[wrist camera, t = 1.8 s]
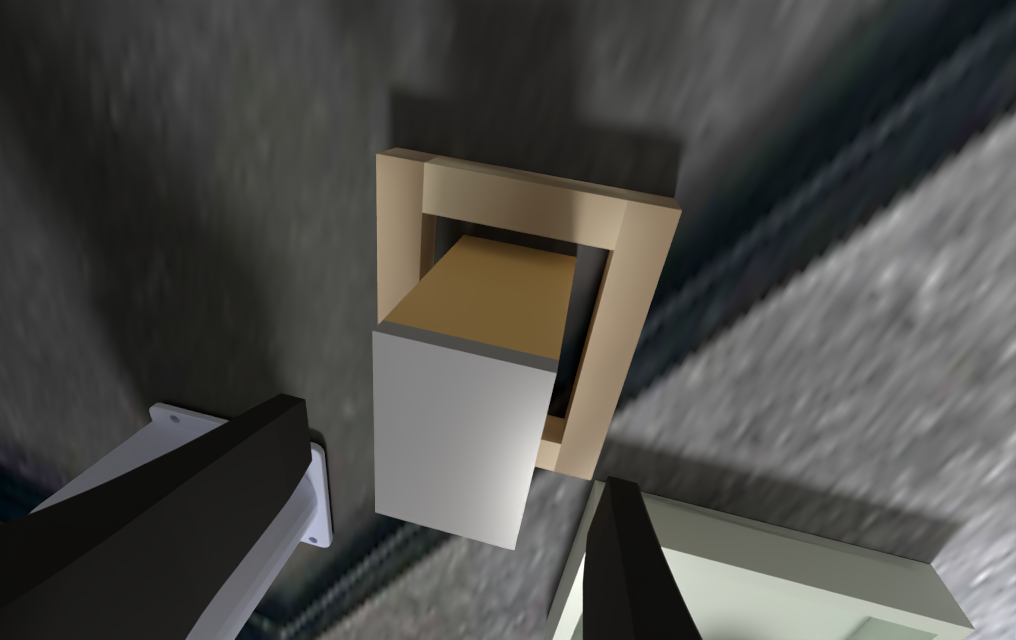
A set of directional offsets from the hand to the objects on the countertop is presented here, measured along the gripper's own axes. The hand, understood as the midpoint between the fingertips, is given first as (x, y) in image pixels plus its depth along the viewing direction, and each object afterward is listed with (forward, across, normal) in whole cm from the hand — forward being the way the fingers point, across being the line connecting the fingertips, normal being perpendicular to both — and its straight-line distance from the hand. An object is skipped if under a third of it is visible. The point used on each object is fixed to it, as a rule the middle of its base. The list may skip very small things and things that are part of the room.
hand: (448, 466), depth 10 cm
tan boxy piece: (+7, 0, 0) cm, 7 cm away
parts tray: (+7, -12, +13) cm, 19 cm away
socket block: (+7, 0, 0) cm, 7 cm away
